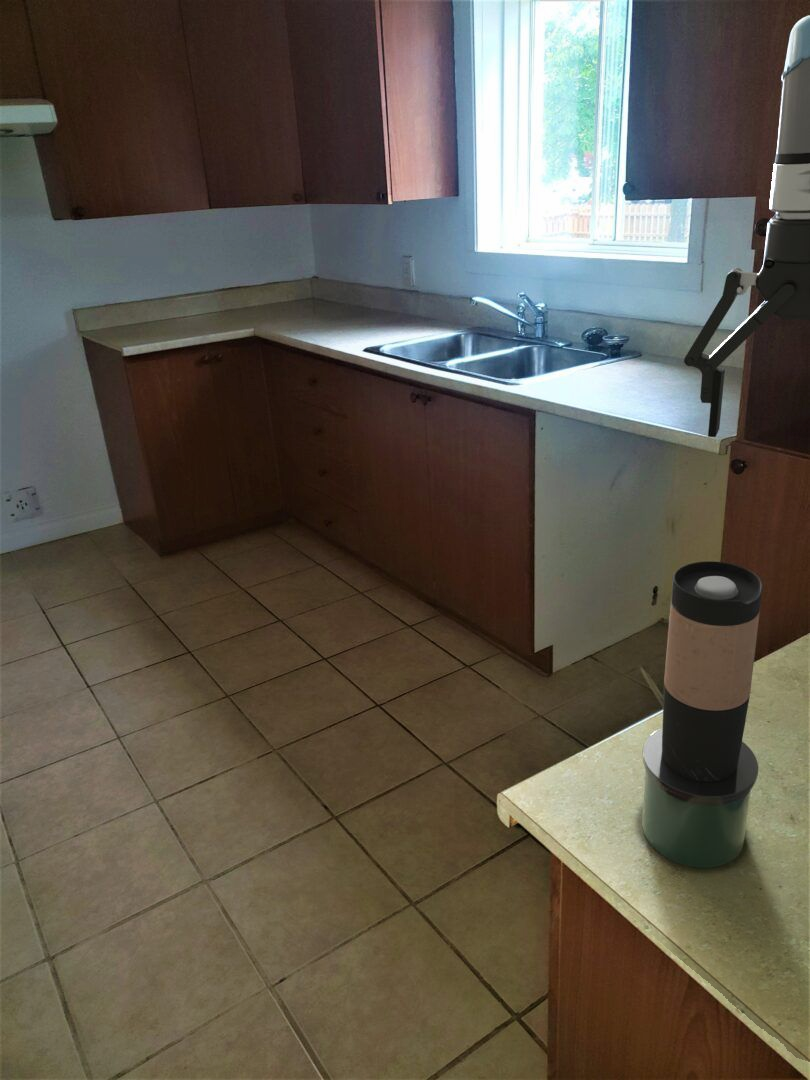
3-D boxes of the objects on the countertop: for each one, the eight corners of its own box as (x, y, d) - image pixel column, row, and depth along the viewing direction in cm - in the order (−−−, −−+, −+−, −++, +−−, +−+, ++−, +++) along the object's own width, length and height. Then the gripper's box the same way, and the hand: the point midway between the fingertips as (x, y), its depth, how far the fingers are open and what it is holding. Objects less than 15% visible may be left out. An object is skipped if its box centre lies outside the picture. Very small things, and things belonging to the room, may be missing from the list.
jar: (739, 797, 88) (748, 726, 84) (756, 877, 79) (768, 801, 75) (635, 788, 91) (640, 719, 87) (640, 865, 81) (645, 791, 77)
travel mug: (656, 730, 85) (668, 559, 76) (734, 735, 83) (755, 561, 75) (661, 781, 78) (675, 600, 70) (746, 787, 76) (771, 603, 68)
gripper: (663, 222, 76) (650, 439, 85) (984, 211, 65) (930, 461, 74) (678, 214, 82) (665, 418, 91) (974, 203, 71) (926, 435, 80)
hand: (784, 438), depth 83 cm, fingers open, 13 cm apart
